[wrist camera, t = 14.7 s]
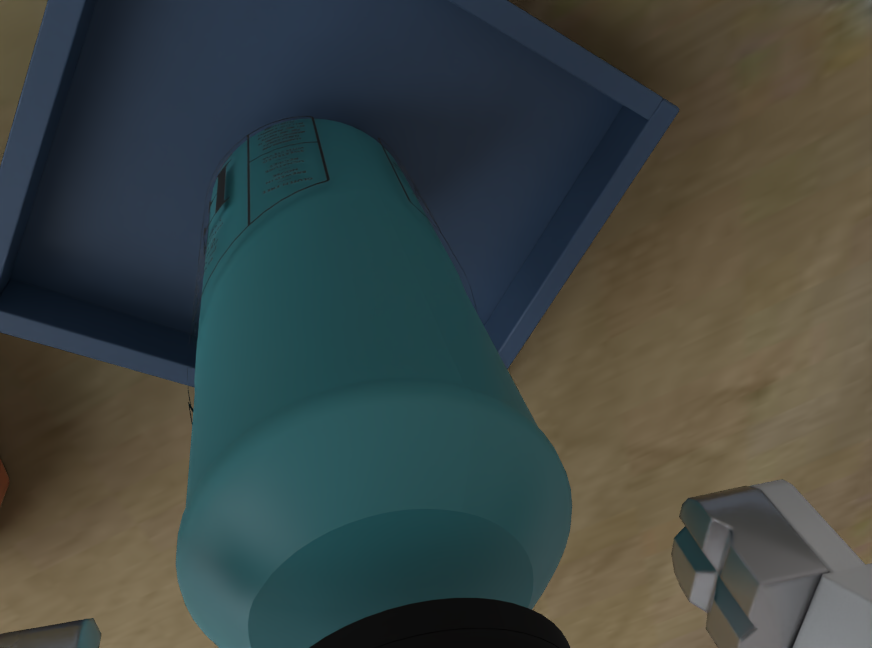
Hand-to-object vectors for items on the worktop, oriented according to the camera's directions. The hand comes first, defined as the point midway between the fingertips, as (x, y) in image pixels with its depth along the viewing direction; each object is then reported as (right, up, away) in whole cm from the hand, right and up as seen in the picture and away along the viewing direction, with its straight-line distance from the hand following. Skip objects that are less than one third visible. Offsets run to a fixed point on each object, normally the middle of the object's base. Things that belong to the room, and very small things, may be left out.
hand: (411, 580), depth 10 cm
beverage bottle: (-4, +8, +14) cm, 17 cm away
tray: (-3, +8, +15) cm, 17 cm away
